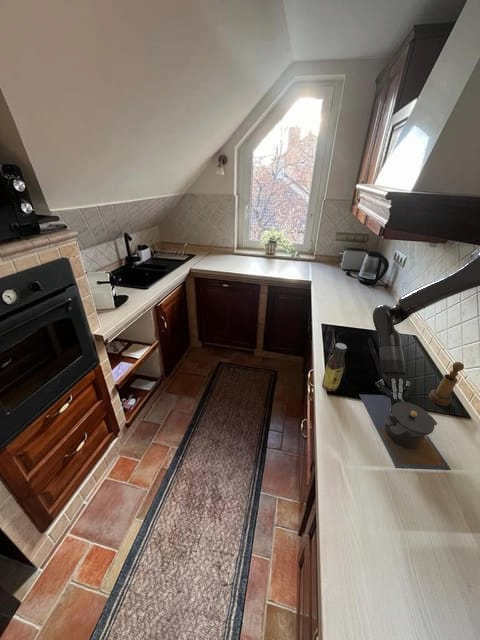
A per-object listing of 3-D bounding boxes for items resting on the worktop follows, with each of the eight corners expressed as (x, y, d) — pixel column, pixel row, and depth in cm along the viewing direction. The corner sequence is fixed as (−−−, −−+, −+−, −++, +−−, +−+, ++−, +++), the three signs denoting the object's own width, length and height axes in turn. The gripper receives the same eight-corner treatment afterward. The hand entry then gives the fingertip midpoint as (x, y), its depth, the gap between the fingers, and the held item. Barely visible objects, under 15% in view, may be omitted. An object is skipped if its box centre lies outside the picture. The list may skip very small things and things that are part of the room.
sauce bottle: (331, 395, 97) (343, 354, 88) (318, 385, 102) (328, 345, 92) (341, 387, 101) (353, 347, 91) (327, 378, 105) (338, 339, 95)
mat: (400, 396, 98) (400, 395, 97) (450, 470, 73) (451, 469, 73) (358, 395, 98) (358, 394, 98) (395, 468, 74) (395, 467, 73)
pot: (414, 418, 88) (426, 397, 83) (438, 450, 78) (453, 428, 73) (371, 418, 88) (380, 397, 83) (390, 451, 78) (402, 429, 72)
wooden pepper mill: (431, 390, 101) (451, 354, 92) (451, 400, 96) (474, 364, 87) (425, 398, 97) (446, 362, 88) (445, 409, 93) (469, 372, 84)
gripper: (378, 357, 87) (383, 411, 83) (417, 359, 87) (424, 412, 83) (367, 359, 94) (372, 408, 90) (403, 361, 94) (409, 410, 90)
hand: (397, 410), depth 86 cm, fingers closed
